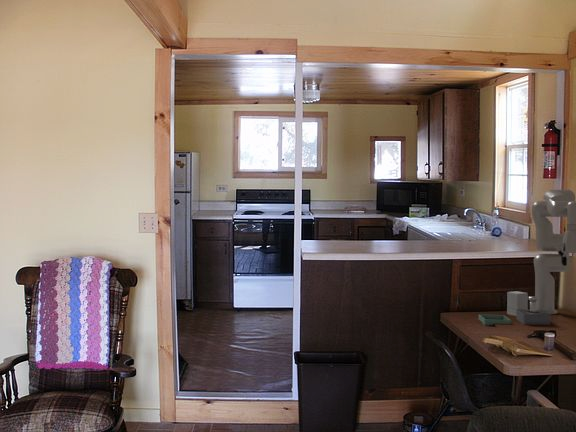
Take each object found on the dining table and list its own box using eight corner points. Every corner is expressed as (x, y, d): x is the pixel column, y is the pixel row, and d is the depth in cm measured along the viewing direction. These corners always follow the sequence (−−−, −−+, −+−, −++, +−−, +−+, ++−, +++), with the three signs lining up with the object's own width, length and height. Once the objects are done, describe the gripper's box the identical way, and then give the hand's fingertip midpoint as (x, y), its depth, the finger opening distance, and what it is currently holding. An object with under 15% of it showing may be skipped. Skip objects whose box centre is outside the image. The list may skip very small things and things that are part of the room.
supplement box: (528, 317, 285) (528, 293, 284) (517, 318, 282) (517, 293, 282) (517, 314, 292) (517, 290, 291) (506, 315, 289) (506, 291, 289)
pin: (526, 321, 271) (527, 296, 271) (536, 321, 271) (536, 296, 270) (529, 322, 267) (530, 297, 266) (539, 323, 266) (539, 297, 266)
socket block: (516, 321, 275) (516, 309, 275) (541, 321, 274) (541, 309, 274) (524, 326, 263) (524, 314, 263) (550, 327, 262) (550, 314, 262)
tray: (478, 320, 278) (478, 314, 278) (503, 320, 276) (503, 315, 276) (484, 325, 266) (484, 319, 266) (511, 326, 264) (511, 320, 264)
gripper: (591, 228, 257) (591, 264, 257) (553, 227, 258) (552, 264, 258) (599, 228, 249) (598, 266, 249) (559, 228, 251) (559, 266, 251)
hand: (575, 265), depth 254 cm, fingers open, 9 cm apart
